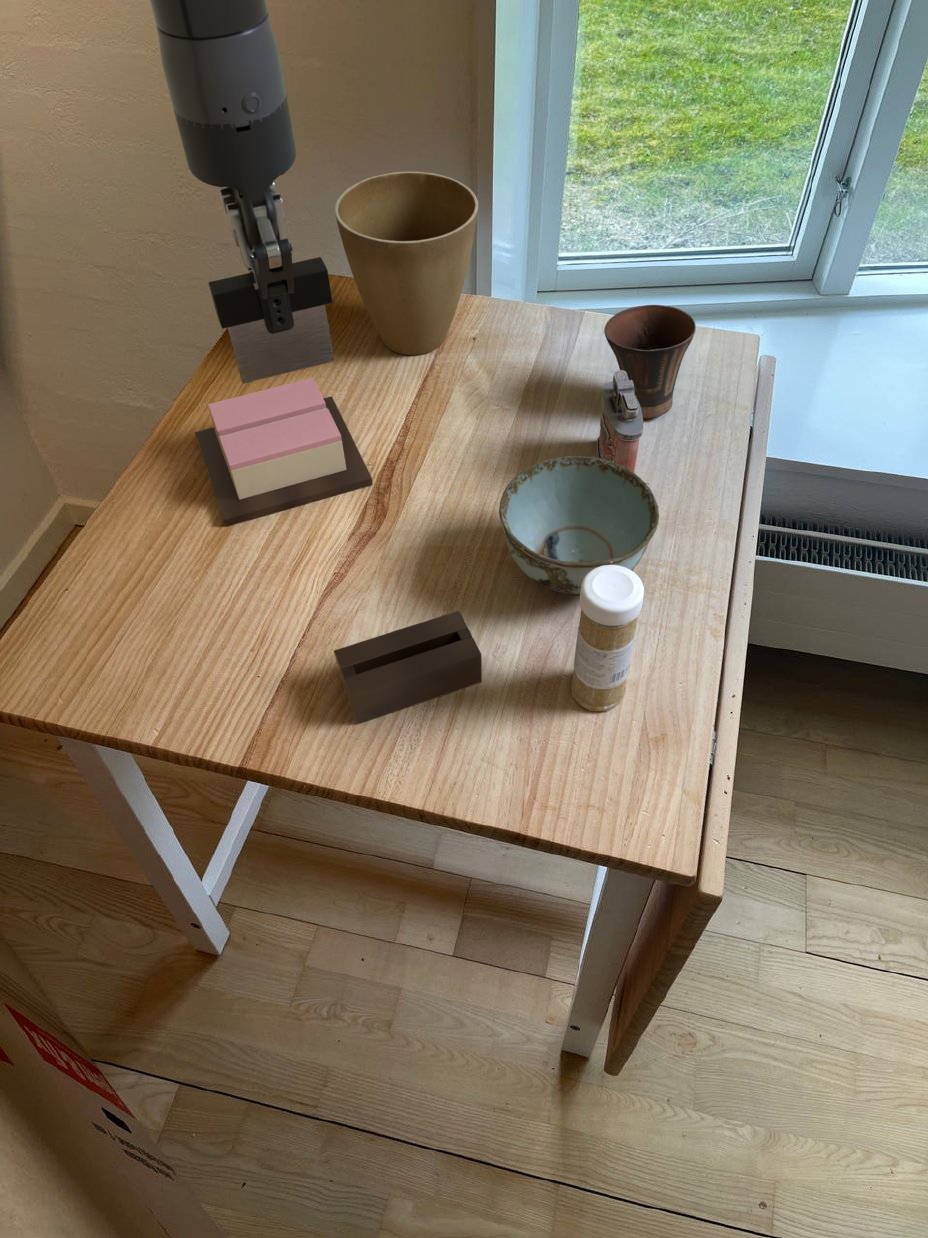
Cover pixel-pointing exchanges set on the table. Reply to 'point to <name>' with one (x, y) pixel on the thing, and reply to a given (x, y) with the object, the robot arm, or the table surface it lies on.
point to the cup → (651, 351)
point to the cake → (283, 453)
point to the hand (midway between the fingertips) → (276, 319)
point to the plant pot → (409, 253)
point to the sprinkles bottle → (605, 636)
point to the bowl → (576, 519)
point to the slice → (265, 407)
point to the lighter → (620, 422)
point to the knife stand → (408, 666)
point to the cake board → (285, 496)
